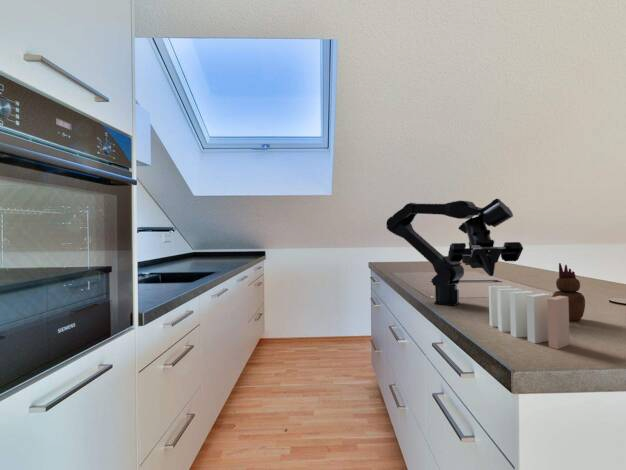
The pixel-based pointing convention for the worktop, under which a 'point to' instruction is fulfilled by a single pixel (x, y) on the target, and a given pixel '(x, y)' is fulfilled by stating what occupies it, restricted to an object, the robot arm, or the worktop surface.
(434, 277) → the robot arm
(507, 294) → the domino
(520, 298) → the domino
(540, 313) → the domino
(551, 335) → the domino
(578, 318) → the wooden figurine
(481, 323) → the worktop surface
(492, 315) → the domino
